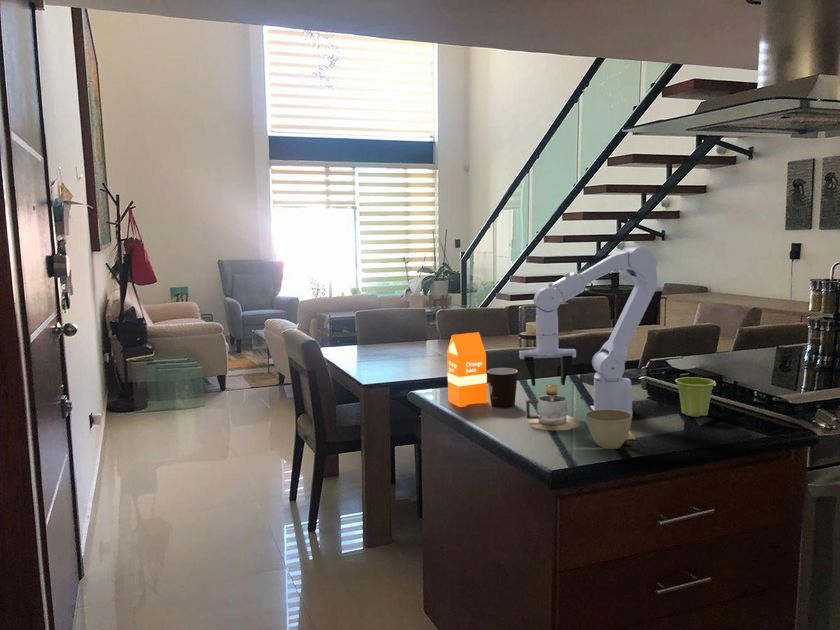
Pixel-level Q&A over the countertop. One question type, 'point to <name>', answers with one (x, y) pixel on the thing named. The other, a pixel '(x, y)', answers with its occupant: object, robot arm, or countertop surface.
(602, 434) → the beige bowl
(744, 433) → the countertop surface
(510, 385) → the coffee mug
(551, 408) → the press carafe
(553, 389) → the plunger
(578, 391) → the countertop surface
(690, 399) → the plant pot
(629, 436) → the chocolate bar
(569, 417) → the cork mat
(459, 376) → the orange juice
